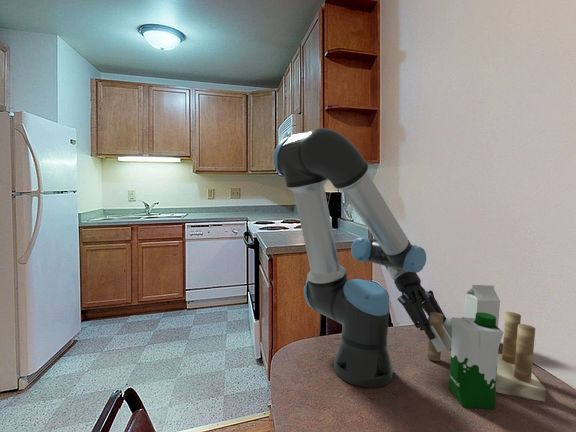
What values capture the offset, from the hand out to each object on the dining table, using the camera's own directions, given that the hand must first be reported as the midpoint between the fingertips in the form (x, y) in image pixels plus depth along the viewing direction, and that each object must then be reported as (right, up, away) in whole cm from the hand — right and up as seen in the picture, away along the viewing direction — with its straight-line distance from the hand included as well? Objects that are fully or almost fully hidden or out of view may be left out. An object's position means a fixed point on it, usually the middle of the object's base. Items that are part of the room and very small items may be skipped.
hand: (446, 348), depth 88 cm
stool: (+11, -6, -4) cm, 13 cm away
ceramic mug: (+7, -4, +19) cm, 20 cm away
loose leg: (-2, -4, +4) cm, 6 cm away
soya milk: (-1, -6, -14) cm, 15 cm away
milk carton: (+19, -5, +17) cm, 26 cm away
